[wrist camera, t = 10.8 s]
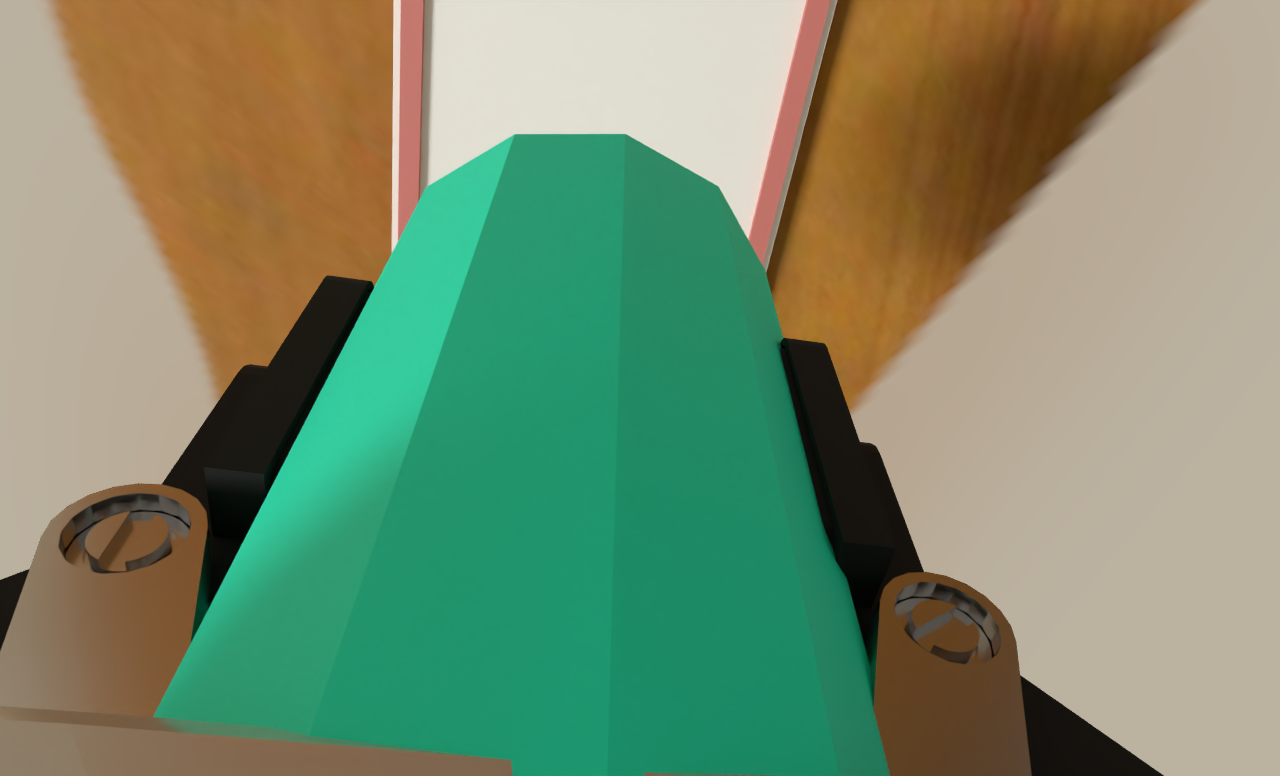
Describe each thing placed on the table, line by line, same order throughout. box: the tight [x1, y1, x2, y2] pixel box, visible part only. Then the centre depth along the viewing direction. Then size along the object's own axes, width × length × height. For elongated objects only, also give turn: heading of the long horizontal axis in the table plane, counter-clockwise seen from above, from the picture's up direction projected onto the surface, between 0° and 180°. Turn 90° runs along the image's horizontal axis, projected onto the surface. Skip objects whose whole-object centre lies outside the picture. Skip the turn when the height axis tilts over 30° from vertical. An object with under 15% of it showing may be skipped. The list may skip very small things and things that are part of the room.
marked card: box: [392, 0, 837, 272], centre depth 22 cm, size 10×10×1 cm
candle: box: [153, 134, 890, 776], centre depth 9 cm, size 6×6×12 cm
